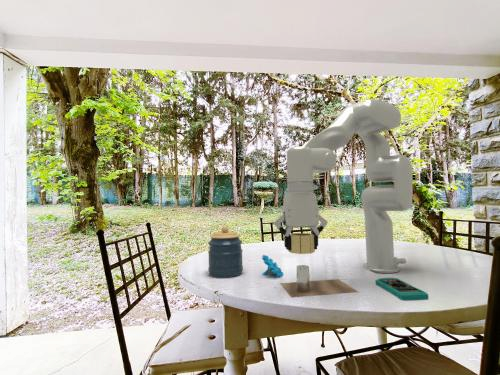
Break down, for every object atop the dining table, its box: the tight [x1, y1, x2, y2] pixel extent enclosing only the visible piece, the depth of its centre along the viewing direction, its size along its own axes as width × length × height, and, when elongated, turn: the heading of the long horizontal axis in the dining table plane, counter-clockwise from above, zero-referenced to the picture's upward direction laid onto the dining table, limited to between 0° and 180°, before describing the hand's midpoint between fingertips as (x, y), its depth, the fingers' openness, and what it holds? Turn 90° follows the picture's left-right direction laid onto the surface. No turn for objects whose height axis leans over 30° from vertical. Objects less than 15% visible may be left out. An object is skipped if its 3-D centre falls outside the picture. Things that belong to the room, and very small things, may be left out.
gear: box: [261, 254, 284, 278], centre depth 101 cm, size 11×6×10 cm
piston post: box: [296, 264, 310, 293], centre depth 83 cm, size 4×4×7 cm
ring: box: [288, 232, 316, 255], centre depth 83 cm, size 7×7×5 cm
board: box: [279, 278, 360, 298], centre depth 85 cm, size 20×13×1 cm, turn 99°
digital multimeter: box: [374, 277, 429, 301], centre depth 81 cm, size 7×15×3 cm, turn 3°
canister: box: [207, 225, 244, 279], centre depth 106 cm, size 13×13×18 cm
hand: (301, 248), depth 83 cm, fingers closed on ring, 7 cm apart
